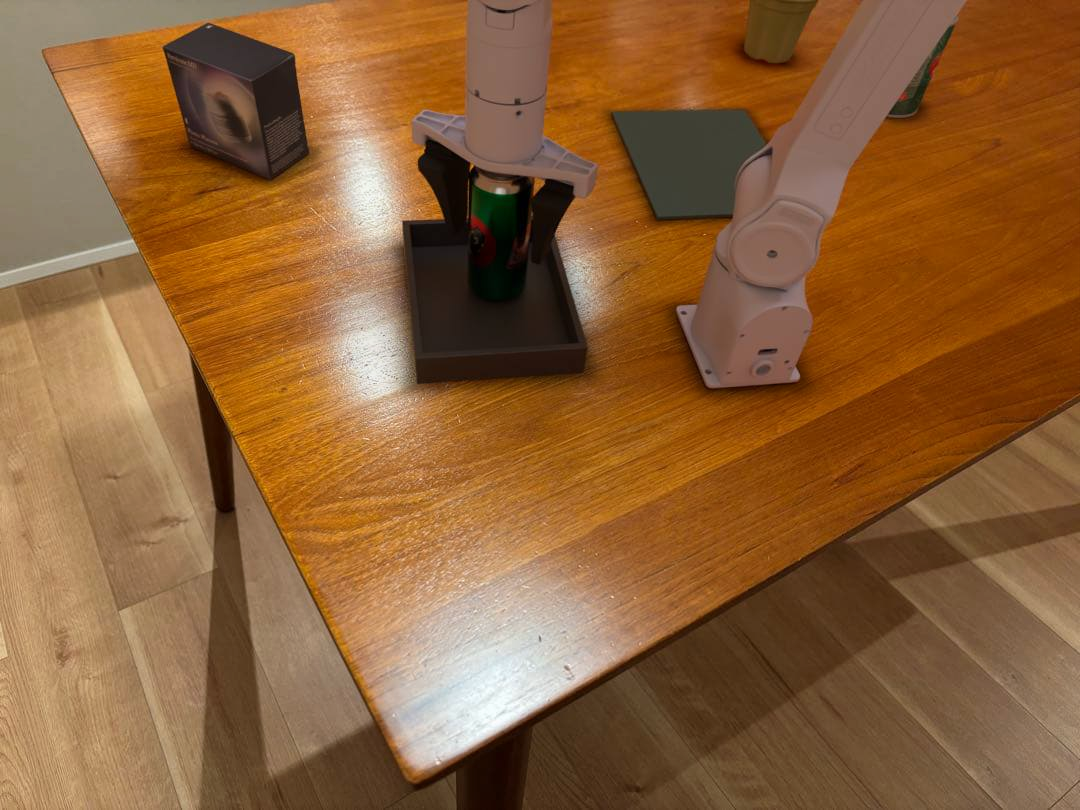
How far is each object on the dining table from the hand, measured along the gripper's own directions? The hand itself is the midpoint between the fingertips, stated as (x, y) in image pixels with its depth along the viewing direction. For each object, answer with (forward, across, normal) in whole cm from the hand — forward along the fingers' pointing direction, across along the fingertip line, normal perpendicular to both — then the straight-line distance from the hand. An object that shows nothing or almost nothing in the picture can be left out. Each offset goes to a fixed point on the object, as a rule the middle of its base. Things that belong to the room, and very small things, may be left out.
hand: (498, 242), depth 67 cm
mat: (+5, -10, -30) cm, 32 cm away
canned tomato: (+5, -26, -55) cm, 61 cm away
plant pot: (+5, -10, -59) cm, 60 cm away
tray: (+5, 0, +2) cm, 5 cm away
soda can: (+5, 0, 0) cm, 5 cm away
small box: (+5, +31, -7) cm, 32 cm away
